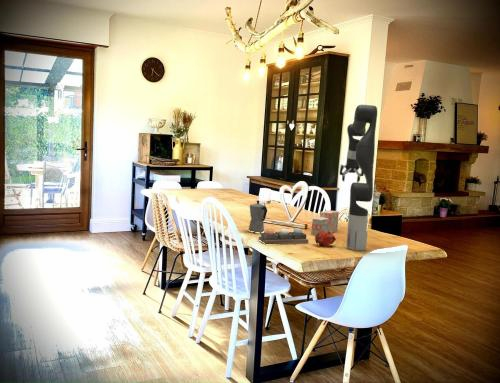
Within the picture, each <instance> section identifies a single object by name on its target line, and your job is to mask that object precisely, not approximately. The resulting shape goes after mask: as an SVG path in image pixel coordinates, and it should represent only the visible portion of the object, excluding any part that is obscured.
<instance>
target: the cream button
mask: <svg viewBox="0 0 500 383" xmlns="http://www.w3.org/2000/svg"><path fill="white" fill-rule="evenodd" d="M279 232H280V234H281V235H287V234H288V233H289V229H288V228H280V229H279Z"/></svg>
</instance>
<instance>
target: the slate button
mask: <svg viewBox="0 0 500 383" xmlns="http://www.w3.org/2000/svg"><path fill="white" fill-rule="evenodd" d="M292 232H293V233H294V234H302V233H303V229H302V228H297V227H296V228H293V231H292Z"/></svg>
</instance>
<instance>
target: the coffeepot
mask: <svg viewBox="0 0 500 383" xmlns="http://www.w3.org/2000/svg"><path fill="white" fill-rule="evenodd" d="M267 213H268V208H267V206H266V205H264V204H261V203H260V200H258V199H257V200H256V203H253V204H249V214H250V221H249V226H248V230H250V231H254V232H263V231H264V232H265V225H264V222H265V220H266V217H267Z"/></svg>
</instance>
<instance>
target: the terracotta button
mask: <svg viewBox="0 0 500 383" xmlns="http://www.w3.org/2000/svg"><path fill="white" fill-rule="evenodd" d="M264 232H265V234H266V235H274V233H275V229H272V228H266V229H265V230H264Z"/></svg>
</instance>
